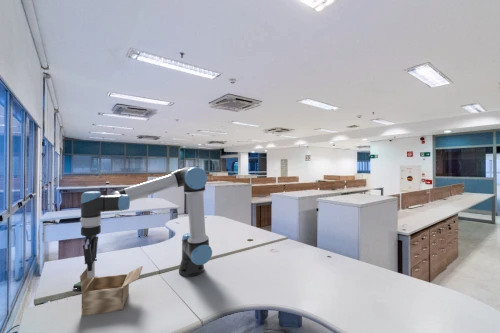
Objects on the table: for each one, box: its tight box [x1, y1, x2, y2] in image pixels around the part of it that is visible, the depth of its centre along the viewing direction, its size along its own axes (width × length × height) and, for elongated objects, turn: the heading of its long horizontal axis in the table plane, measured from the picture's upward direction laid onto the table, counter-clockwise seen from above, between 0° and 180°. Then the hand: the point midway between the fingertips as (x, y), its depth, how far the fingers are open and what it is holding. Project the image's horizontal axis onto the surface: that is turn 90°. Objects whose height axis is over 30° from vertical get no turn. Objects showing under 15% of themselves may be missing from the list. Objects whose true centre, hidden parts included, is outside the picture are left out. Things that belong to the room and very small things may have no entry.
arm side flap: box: [123, 265, 144, 287], centre depth 115 cm, size 1×14×7 cm
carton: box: [81, 273, 130, 317], centre depth 112 cm, size 16×15×10 cm
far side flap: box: [79, 267, 92, 293], centre depth 109 cm, size 1×14×7 cm, turn 17°
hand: (90, 276), depth 110 cm, fingers closed
